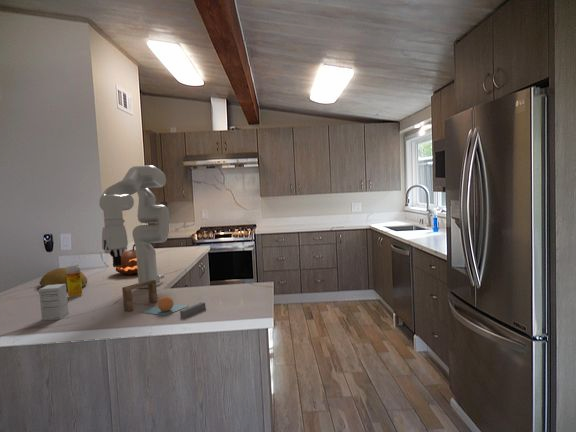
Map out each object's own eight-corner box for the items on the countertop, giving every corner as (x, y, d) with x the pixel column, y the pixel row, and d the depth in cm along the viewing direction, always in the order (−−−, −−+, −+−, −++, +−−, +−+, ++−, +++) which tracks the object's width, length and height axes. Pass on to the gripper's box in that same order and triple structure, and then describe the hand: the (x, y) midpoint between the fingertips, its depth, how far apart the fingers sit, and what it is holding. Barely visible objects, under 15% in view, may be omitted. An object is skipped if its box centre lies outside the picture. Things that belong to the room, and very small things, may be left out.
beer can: (76, 298, 194) (73, 266, 193) (65, 298, 195) (62, 267, 195) (85, 294, 200) (82, 264, 199) (74, 294, 201) (71, 264, 200)
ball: (178, 306, 163) (170, 312, 166) (172, 292, 165) (164, 299, 168) (166, 309, 158) (157, 315, 161) (160, 295, 160) (152, 301, 163)
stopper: (201, 308, 164) (201, 302, 164) (205, 308, 163) (205, 302, 163) (180, 317, 154) (180, 310, 154) (184, 317, 153) (183, 311, 153)
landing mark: (165, 303, 175) (165, 303, 175) (188, 306, 168) (188, 305, 168) (141, 312, 163) (141, 312, 163) (165, 315, 157) (165, 315, 157)
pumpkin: (104, 277, 241) (101, 246, 240) (127, 269, 265) (125, 240, 264) (143, 277, 237) (141, 244, 235) (163, 268, 261) (161, 239, 260)
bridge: (124, 311, 167) (122, 287, 166) (152, 301, 180) (150, 279, 179) (129, 311, 165) (127, 288, 165) (157, 301, 178) (155, 280, 178)
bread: (62, 294, 206) (60, 274, 205) (34, 286, 227) (33, 269, 227) (98, 286, 220) (96, 267, 219) (69, 280, 242) (67, 263, 241)
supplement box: (50, 315, 167) (47, 284, 166) (69, 313, 168) (66, 283, 167) (41, 320, 160) (38, 289, 159) (61, 319, 160) (58, 287, 160)
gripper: (122, 221, 185) (125, 261, 186) (92, 225, 172) (96, 268, 173) (133, 221, 181) (137, 262, 183) (104, 225, 168) (108, 269, 170)
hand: (117, 265), depth 178 cm, fingers closed
